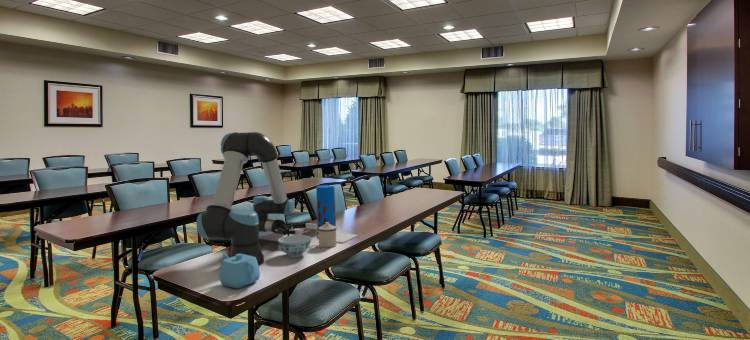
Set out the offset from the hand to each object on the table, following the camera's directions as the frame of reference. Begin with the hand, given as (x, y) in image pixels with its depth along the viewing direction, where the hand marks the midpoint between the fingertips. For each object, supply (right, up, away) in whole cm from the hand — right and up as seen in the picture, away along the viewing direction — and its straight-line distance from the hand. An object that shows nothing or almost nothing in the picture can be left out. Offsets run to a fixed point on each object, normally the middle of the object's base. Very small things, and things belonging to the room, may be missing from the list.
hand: (309, 229), depth 212 cm
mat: (+15, -6, +9) cm, 18 cm away
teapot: (-18, -13, -55) cm, 59 cm away
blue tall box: (+5, -4, +33) cm, 34 cm away
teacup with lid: (+9, -7, -4) cm, 12 cm away
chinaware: (-3, -9, -20) cm, 22 cm away
